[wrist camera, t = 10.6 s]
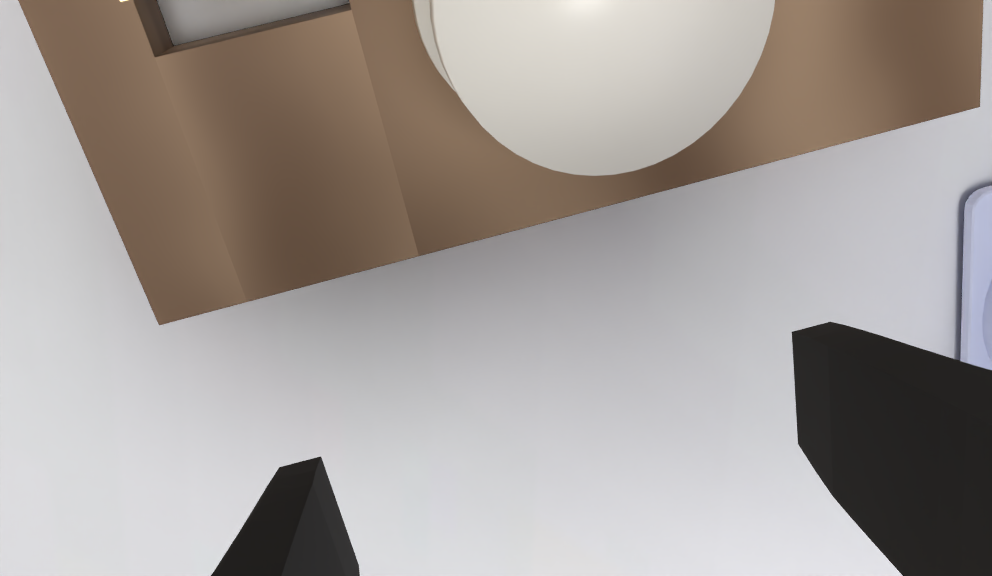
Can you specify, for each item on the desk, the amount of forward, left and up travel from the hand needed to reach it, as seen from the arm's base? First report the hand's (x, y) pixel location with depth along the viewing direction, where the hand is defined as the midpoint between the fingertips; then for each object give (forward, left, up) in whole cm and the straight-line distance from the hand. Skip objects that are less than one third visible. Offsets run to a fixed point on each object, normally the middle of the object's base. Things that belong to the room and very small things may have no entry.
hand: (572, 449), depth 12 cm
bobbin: (-2, -6, -8) cm, 10 cm away
